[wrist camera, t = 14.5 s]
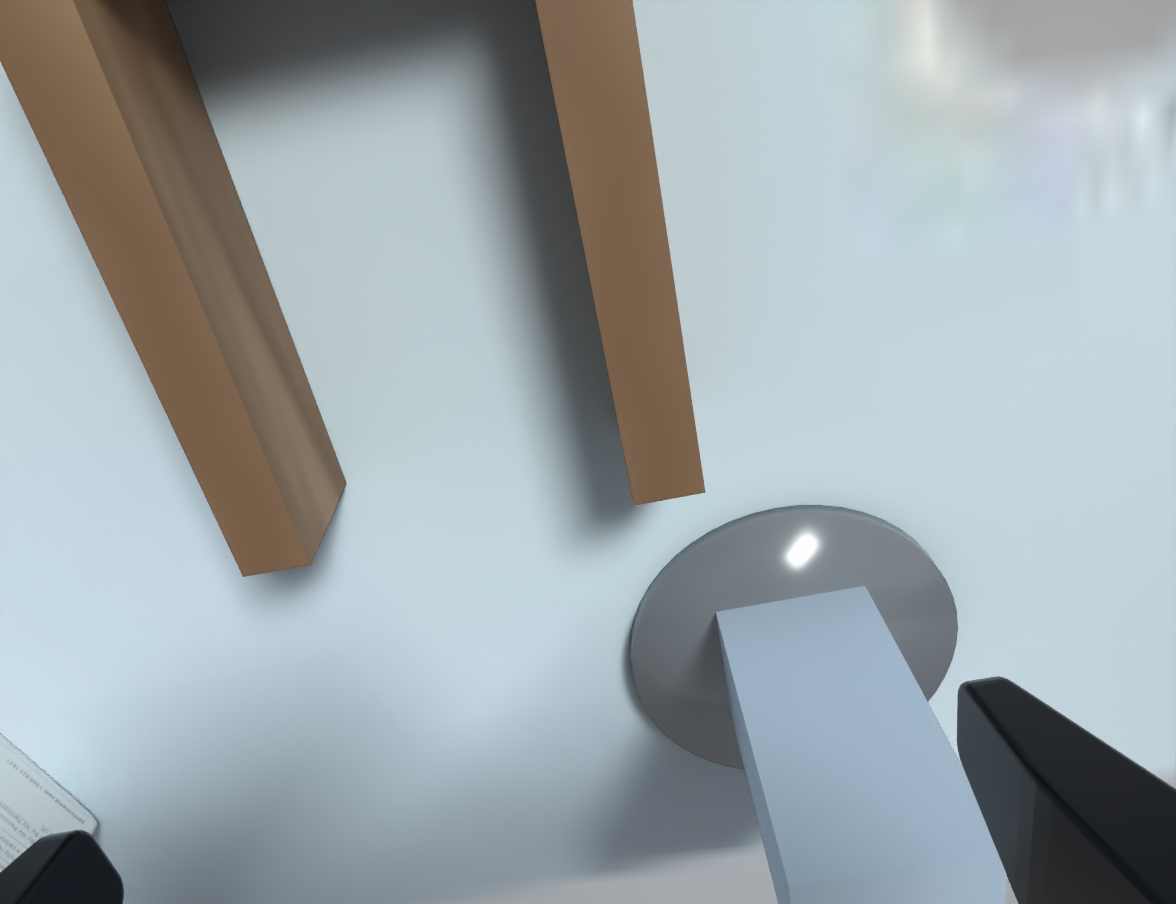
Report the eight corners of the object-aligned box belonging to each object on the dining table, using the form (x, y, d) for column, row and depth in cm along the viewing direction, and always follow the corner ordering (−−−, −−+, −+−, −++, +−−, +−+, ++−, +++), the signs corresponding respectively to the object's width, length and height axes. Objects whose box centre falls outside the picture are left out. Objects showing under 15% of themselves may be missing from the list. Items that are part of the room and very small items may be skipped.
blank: (865, 586, 22) (1008, 851, 15) (870, 696, 24) (1000, 979, 17) (715, 611, 23) (788, 885, 16) (732, 719, 25) (804, 1008, 17)
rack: (579, -245, 15) (585, -312, 12) (682, 420, 21) (705, 492, 18) (34, -116, 15) (-98, -148, 12) (288, 493, 21) (243, 576, 18)
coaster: (950, 476, 22) (960, 488, 21) (947, 729, 26) (956, 744, 25) (604, 539, 22) (605, 552, 22) (656, 776, 26) (658, 792, 26)
